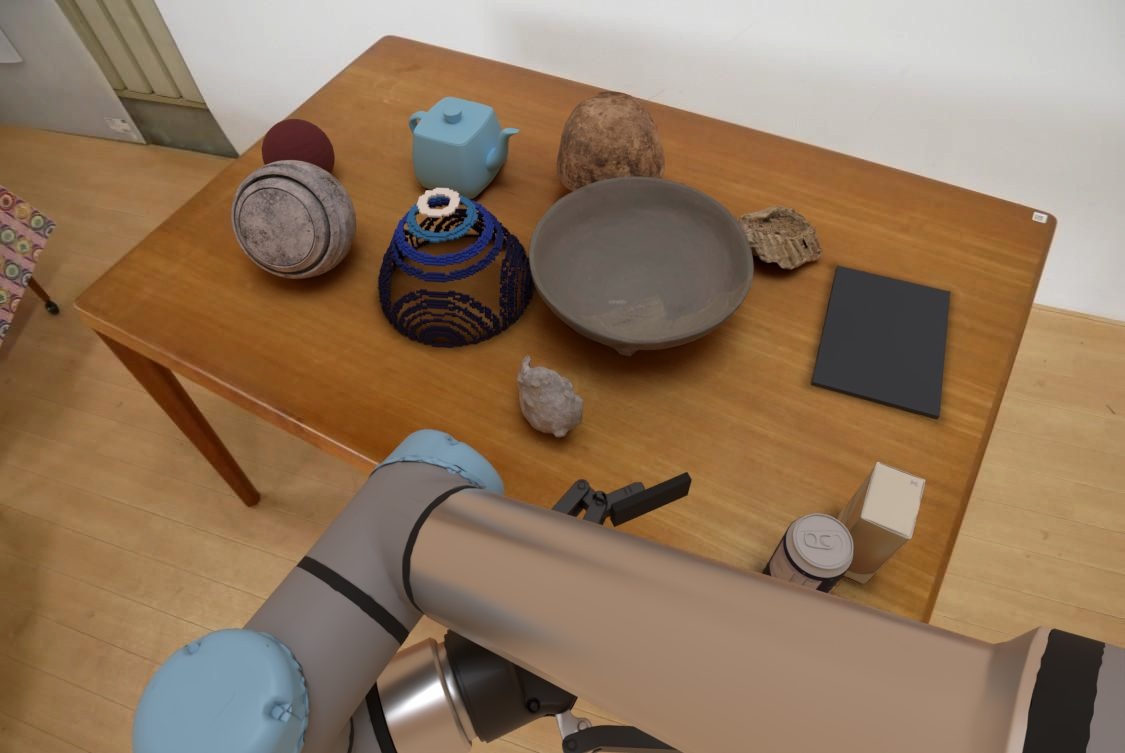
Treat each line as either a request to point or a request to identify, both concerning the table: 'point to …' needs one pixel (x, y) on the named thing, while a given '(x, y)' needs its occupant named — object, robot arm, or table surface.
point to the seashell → (781, 236)
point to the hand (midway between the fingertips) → (734, 560)
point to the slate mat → (884, 341)
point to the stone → (548, 399)
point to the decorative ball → (298, 144)
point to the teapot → (458, 146)
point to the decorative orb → (293, 219)
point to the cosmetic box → (881, 518)
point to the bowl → (641, 263)
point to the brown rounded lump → (609, 141)
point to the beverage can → (813, 553)
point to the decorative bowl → (402, 246)
